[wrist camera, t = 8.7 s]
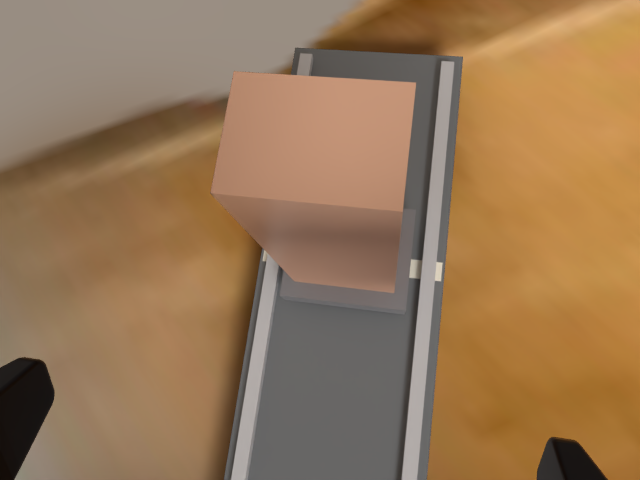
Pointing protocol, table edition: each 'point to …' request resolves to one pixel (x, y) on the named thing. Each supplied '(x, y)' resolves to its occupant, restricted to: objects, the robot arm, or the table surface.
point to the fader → (322, 183)
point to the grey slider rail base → (355, 321)
